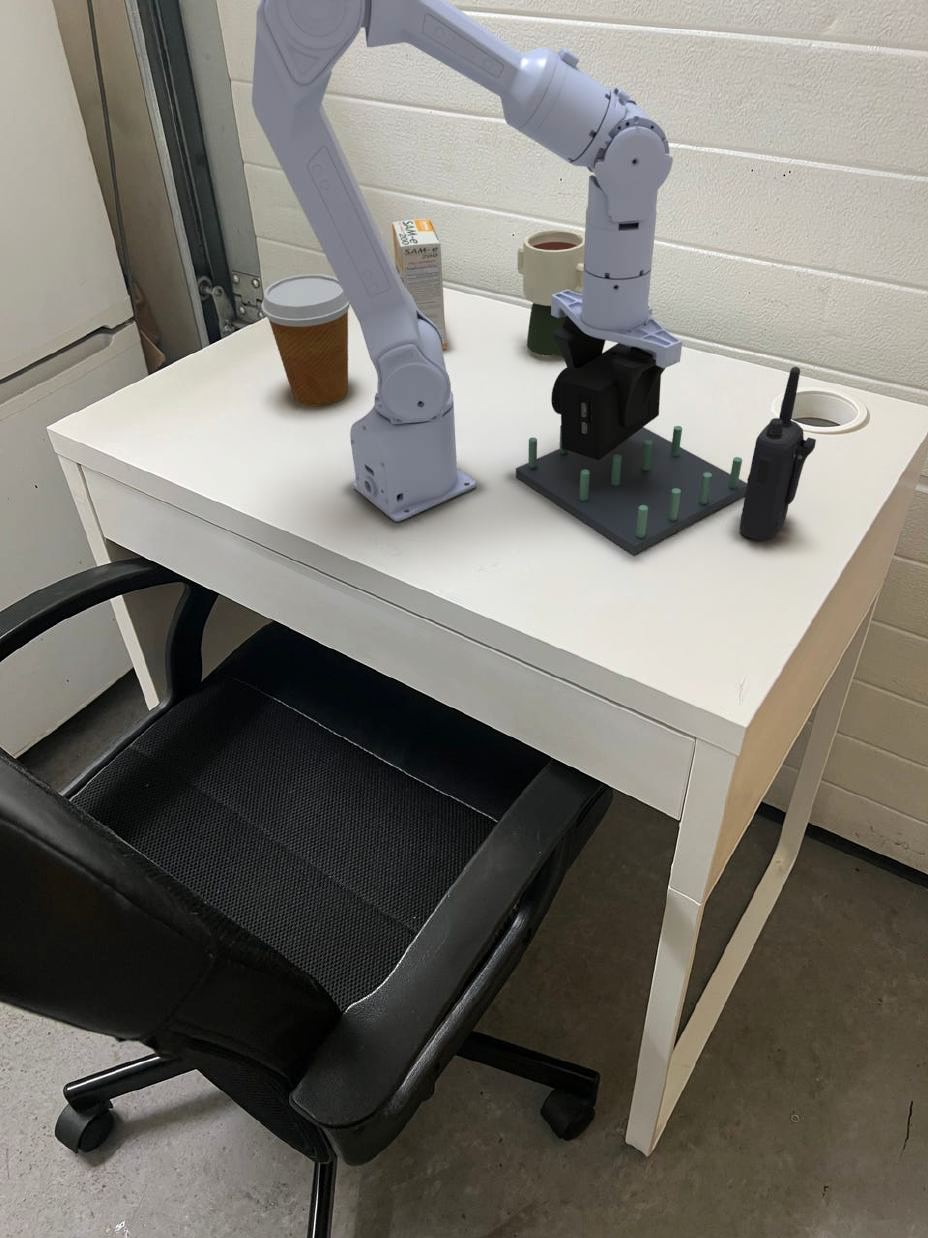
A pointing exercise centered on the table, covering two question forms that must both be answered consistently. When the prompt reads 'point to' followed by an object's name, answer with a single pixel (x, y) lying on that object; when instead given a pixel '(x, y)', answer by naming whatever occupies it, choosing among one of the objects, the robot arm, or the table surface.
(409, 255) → the supplement box
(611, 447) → the digital camera
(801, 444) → the two-way radio
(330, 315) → the disposable coffee cup
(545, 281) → the character mug
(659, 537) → the rack
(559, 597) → the table surface
